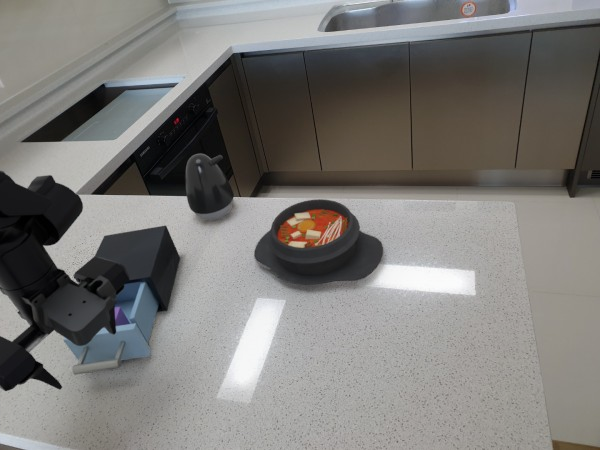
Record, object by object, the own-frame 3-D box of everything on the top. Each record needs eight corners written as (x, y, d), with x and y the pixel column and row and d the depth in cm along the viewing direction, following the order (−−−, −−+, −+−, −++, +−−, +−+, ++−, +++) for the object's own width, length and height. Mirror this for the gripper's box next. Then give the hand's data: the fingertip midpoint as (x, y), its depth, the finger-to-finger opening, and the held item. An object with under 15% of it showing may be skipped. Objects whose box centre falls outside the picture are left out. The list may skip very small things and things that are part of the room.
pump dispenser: (236, 223, 101) (217, 163, 92) (190, 229, 102) (167, 171, 93) (241, 197, 109) (224, 140, 100) (199, 203, 110) (178, 147, 101)
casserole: (396, 236, 89) (394, 201, 84) (364, 306, 76) (359, 269, 71) (282, 219, 99) (274, 187, 94) (238, 278, 87) (226, 244, 82)
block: (85, 331, 73) (94, 310, 77) (97, 349, 76) (105, 328, 79) (112, 327, 73) (120, 306, 76) (124, 345, 75) (130, 324, 79)
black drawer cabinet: (167, 310, 83) (150, 276, 78) (100, 321, 84) (79, 288, 79) (180, 257, 95) (166, 225, 90) (121, 267, 96) (104, 235, 90)
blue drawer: (143, 381, 70) (125, 354, 66) (72, 392, 71) (50, 365, 67) (165, 295, 85) (152, 269, 81) (106, 305, 86) (90, 279, 82)
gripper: (-9, 358, 42) (70, 446, 51) (135, 234, 54) (178, 323, 63) (-70, 326, 47) (11, 411, 56) (74, 220, 59) (122, 304, 68)
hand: (87, 359), depth 61 cm, fingers open, 9 cm apart
